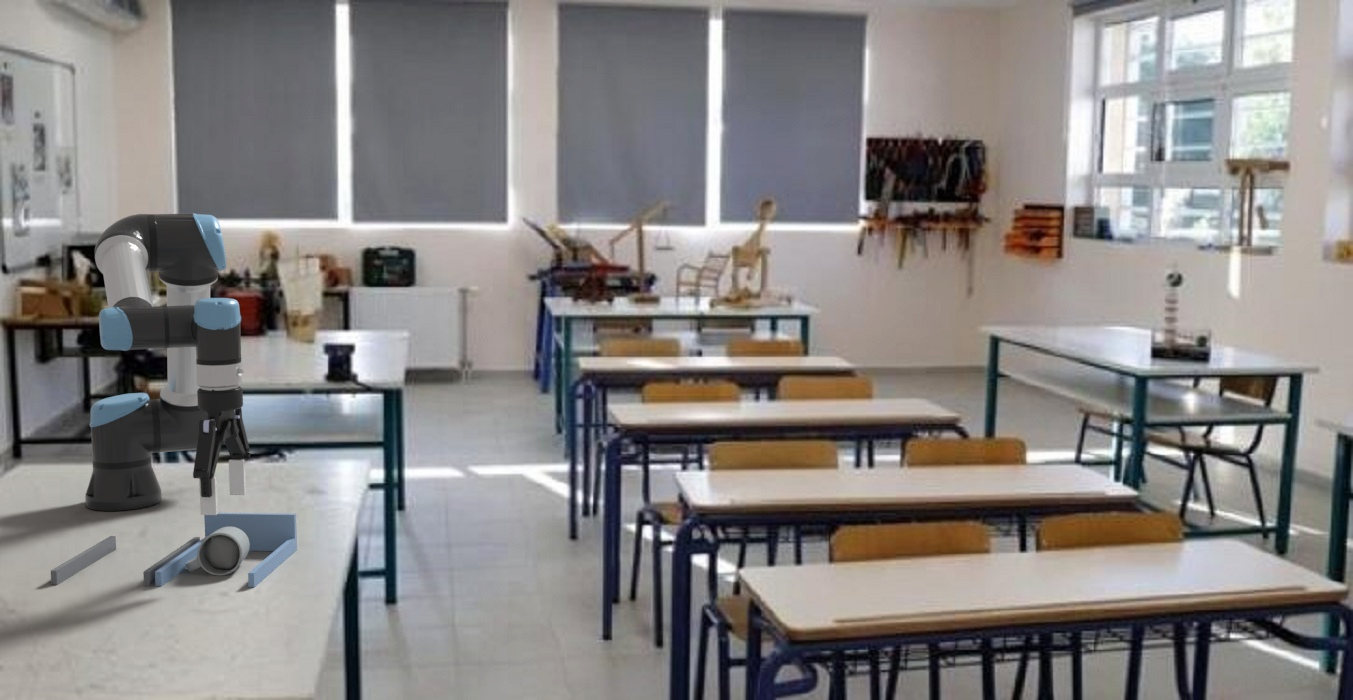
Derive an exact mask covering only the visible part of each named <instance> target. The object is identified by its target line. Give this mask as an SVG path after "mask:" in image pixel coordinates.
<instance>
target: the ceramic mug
mask: <svg viewBox="0 0 1353 700" xmlns="http://www.w3.org/2000/svg"><path fill="white" fill-rule="evenodd" d="M204 538H205V537H204ZM249 547H250V543H249V539H248V537H247V535H246V534H245V533H244V532H243V531H242V530H241V529H239V528H236V527H222V528H220V529H218V530H216V531H215V532H214V533H212V534H210V535H209V536H207V537H206V538H205V539H204V540H203V541H202V542H201V544H200V546H199V548H198V554H197V557H195V558H193V559H191V560H190V561H188V562H187V563H186V564H185V566H186V570H187V571H188V572H192V571H196V570H199V569H200V568H202V569H203V570H204V571H205V572H206V573H207V574H209V575H212V576H217V577H219V576H226V575H230V574H232V573H233V572H235V571H236V570H237V569H238V568H239V566H240V565H241V564H242V563H243V562H244V560H245V559H246V558H247V556H248V555H249V552H250V551H249Z"/></svg>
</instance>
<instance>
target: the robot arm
mask: <svg viewBox="0 0 1353 700" xmlns="http://www.w3.org/2000/svg"><path fill="white" fill-rule="evenodd" d="M222 233H223V232H222V230H221V225H220V222H219V220H218V219H217V217H216V216H214V215H212V214H203V213H202V214H199V213H195V212H192V213H160V214H159V213H158V214H157V213H155V214H154V213H151V214H150V213H137V214H131V215H128V216H126V217H123V218H121V219H119V220H118V221H116V222H114V223H112V224H111V225H110V226H108V227H107V228H106V229H105V230H104V231H103V232H102V234H100V236H99V237H98V239H97V241H96V243H95V247H94V261H95V264H96V268H97V269H98V270H99V272H100V273H101V274H102V275H103V281H104V287H105V288H104V289H105V295H106V300H107V307H105V308H103V309H101V310H100V311H99V314H98V319H99V320H98V321H99V322H98V323H99V336H100V337H99V338H100V345H101V347H102V348H103V349H104V350H107V351H122V352H127V351H132V350H137V351H138V350H152V349H167V350H166V351H167V352H166V354H167V356H166V358H167V362H166V363H167V384H166V385H164V386H163V388H162V389H161V390H160V393H159V398H156V399H150V396H149V394H148V393H146V392H135V393H134V392H133V393H132V392H131V393H123V394H119V395H113V396H110V397H105V398H103V399H100V400H98V401H96V402H95V403H93V404H92V406H91V408H90V422H89V427H90V431H91V456H92V473H91V475H90V480H89V482H88V485H87V489H86V492H85V494H84V495H85V496H84V498H85V499H84V501H85V507H86V508H88V509H89V510H90V509H91V510H93V511H94V510H95V511H101V512H103V511H104V512H105V511H106V512H114V511H129V510H137V509H143V508H148V507H151V506H154V505H157V504H159V503H160V502H161V501H162V499H163V498H162V488H161V486H160V482H159V480H158V478H157V476H156V474H155V471H154V469H153V466H152V454H155V453H157V454H158V453H168V452H169V453H170V452H181V451H182V452H183V451H193V450H194V451H196V452H195V460H194V464H193V465H194V466H193V471H192V477H193V479H198V481H199V502H200V504H199V507H200V510H199V511H200V515H201V516H204V515H217V514H218V513H219V511H218V510H219V507H218V503H219V502H218V481H217V478H218V477H217V476H215V473H216V469H217V465H218V461H219V458H220V453H221V449H222V446H223V445H225V446H226V449H227V452H228V454H229V456H230V459H228V476H229V477H228V479H229V480H228V481H229V496H246V494H247V485H246V484H247V481H246V459H247V460H248V459H250V458H251V453H250V444H249V441H248V437H247V436H248V435H247V432H246V427H245V424H244V420H243V411H242V407H243V406H244V393H243V392H244V391H243V390H244V389H243V388H242V387H241V386H240V385H241V384H242V383H243V374H244V373H245V368H243V367H242V348H241V347H242V344H241V343H242V342H241V341H242V339H241V334H242V333H241V322H242V316H241V311H240V310H241V309H240V304H239V301H238V300H236V299H234V298H229V297H211V286H212V285H213V284H215V283H216V282H217V281H218V279H219V271H220V272H221V271H223V270H226V268H227V258H226V257H227V256H226V249H225V244H224V239H223V234H222ZM147 272H158V279H159V281H161V282H162V283H163V284H164V285H165V286H166V305H164V306H162V305H160V306H159V305H158V306H156V305H155V306H154V303H153V298H152V292H151V288H150V285H149V280H148V279H149V278H148V275H147Z"/></svg>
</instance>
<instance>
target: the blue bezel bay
mask: <svg viewBox="0 0 1353 700" xmlns="http://www.w3.org/2000/svg"><path fill="white" fill-rule="evenodd" d="M203 517H204V538H202V539H200V541H199V542H197V543H196V544H195V545H193V546H192V547H190V548H189V549H187V550H186V551H184V552H183V553H182V554H180V555H179V556H177V557H176V558H174V559H173V560H172V561H170V562H169V563H167V564H166V565H164V566H163V567H161V568H160V569H159V570H157V571H156V572H155V587H163V586H164V585H165V584H167V583H168V582H170V581H171V580H172V579H173V578H175V577H176V576H178V575H179V574H181V573H182V572H184V570H187V568H186V566H185V564H186V563H187V562H188V561H190V560H191V559H193V558H195V557H197V554H198V548H199V546H200V544H201V542H202V541H203V540H204V539H205V538H206V537H207V536H209V535H210V534H212V533H214V532H215V531H216V530H218V529H220V528H222V527H236V528H239V529H241V530H242V531H243V532H244V533H245V534H246V535H247V537H248V539H249V543H250V547H249V552H251V551H253V552H255V551H256V552H257V551H258V552H261V551H262V552H263V551H264V552H271V553H270V554H269V555H268V556H266V558H264V559H263V560H262V561H261V562H259V563H258V564H256V566H254V568H252V569H251V570H249V572H248V573H247V582H248V588H256V586H258V585H259V584H260V583H261V582H262V581H263V580H264V579H266V578H267V577H268V576H269V575H270V574H271V573H272V572H274V571H275V569H277V568H278V567H279V566H280V565H282V563H284V562H285V561H286V560H287V559H288V558H290V557H291V556H292V555H293V554H294V553H295V552H296V551H297V550H298V541H297V539H298V538H297V537H298V536H297V533H298V532H297V513H291V512H290V513H289V512H288V513H285V512H284V513H281V512H280V513H279V512H278V513H277V512H276V513H273V512H272V513H271V512H263V513H262V512H218V514H217V515H203Z"/></svg>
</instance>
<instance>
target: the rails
mask: <svg viewBox="0 0 1353 700" xmlns="http://www.w3.org/2000/svg"><path fill="white" fill-rule="evenodd" d="M116 537H117V536H116V535H110V536H108V537H106V538H103V540H101V541H99V542H98V543H96V544H94V545H93V546H91V547H89V548H88V549H87V548H86V549H85V550H83V551H82V552H80V553H79V554H77V555H75V556H73V557H72V558H70V559H68V560H66V561H65V562H63V563H61V564H60V565H58V566H56V567H54V568H53V569H50V583H51V586H53V585H54V586H57V585H59V584H61V583H63V582H64V581H66V580H68V579H69V578H72V577H73V576H75V575H76V574H77V573H79V572H81V571H82V570H84V569H86V568H87V567H89V566H91V565H92V564H94V563H96V562H97V561H99V560H101V559H102V558H104V557H106V556H107V555H109V554H110V553H112V552H114V551H115V550H116V549H117V539H116ZM200 540H201V537H200V536H194V537H193V538H191V539H189V540H188V541H187V542H185V543H184V544H183V545H181V546H180V547H178V548H176V549H174V550H173V551H172V552H171V553H169V554H168V555H166V556H165V557H162V559H160V560H158V561H157V562H156V563H154V564H153V565H150V567H148V568H147V569H144V571H143V573H142V574H143V586H144V587H150V586H152V585H153V584H154V583H155V572H156V571H157V570H159V569H160V568H161V567H163V566H164V565H166V564H167V563H169V562H170V561H172V560H173V559H174V558H176V557H177V556H179V555H180V554H182V553H183V552H184V551H186V550H187V549H189V548H190V547H192V546H193V545H195V544H196V543H197V542H199V541H200ZM155 584H156V583H155Z"/></svg>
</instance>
